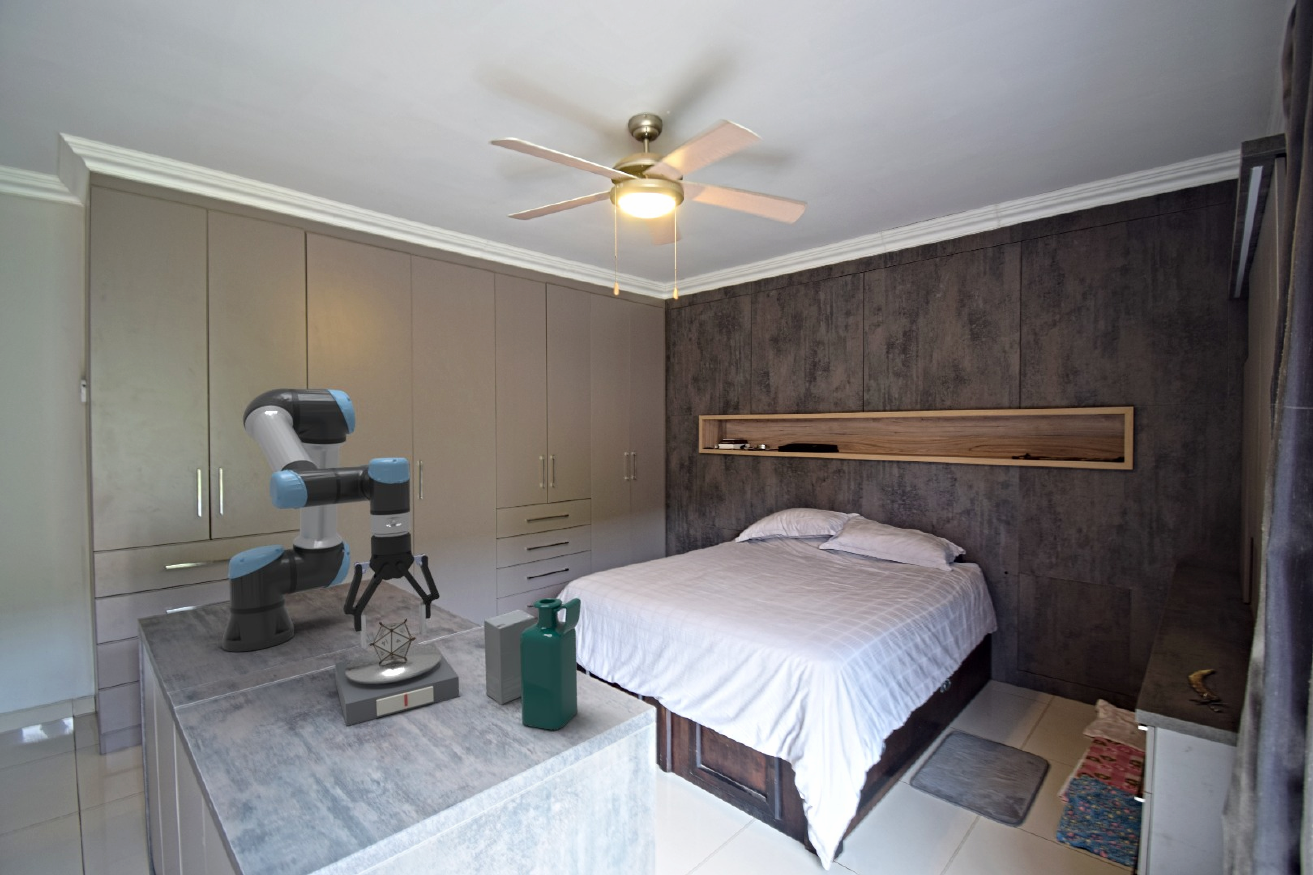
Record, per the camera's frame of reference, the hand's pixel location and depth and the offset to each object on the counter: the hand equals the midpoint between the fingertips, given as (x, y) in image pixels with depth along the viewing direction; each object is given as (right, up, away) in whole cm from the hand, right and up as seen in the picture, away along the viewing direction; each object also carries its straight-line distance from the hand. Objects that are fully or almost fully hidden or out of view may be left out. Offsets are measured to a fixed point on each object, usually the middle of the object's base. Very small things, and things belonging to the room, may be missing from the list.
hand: (394, 640), depth 121 cm
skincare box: (+25, -10, -3) cm, 27 cm away
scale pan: (0, -6, 0) cm, 6 cm away
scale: (0, -10, 0) cm, 10 cm away
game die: (0, -4, 0) cm, 4 cm away
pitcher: (+35, -10, -13) cm, 39 cm away
